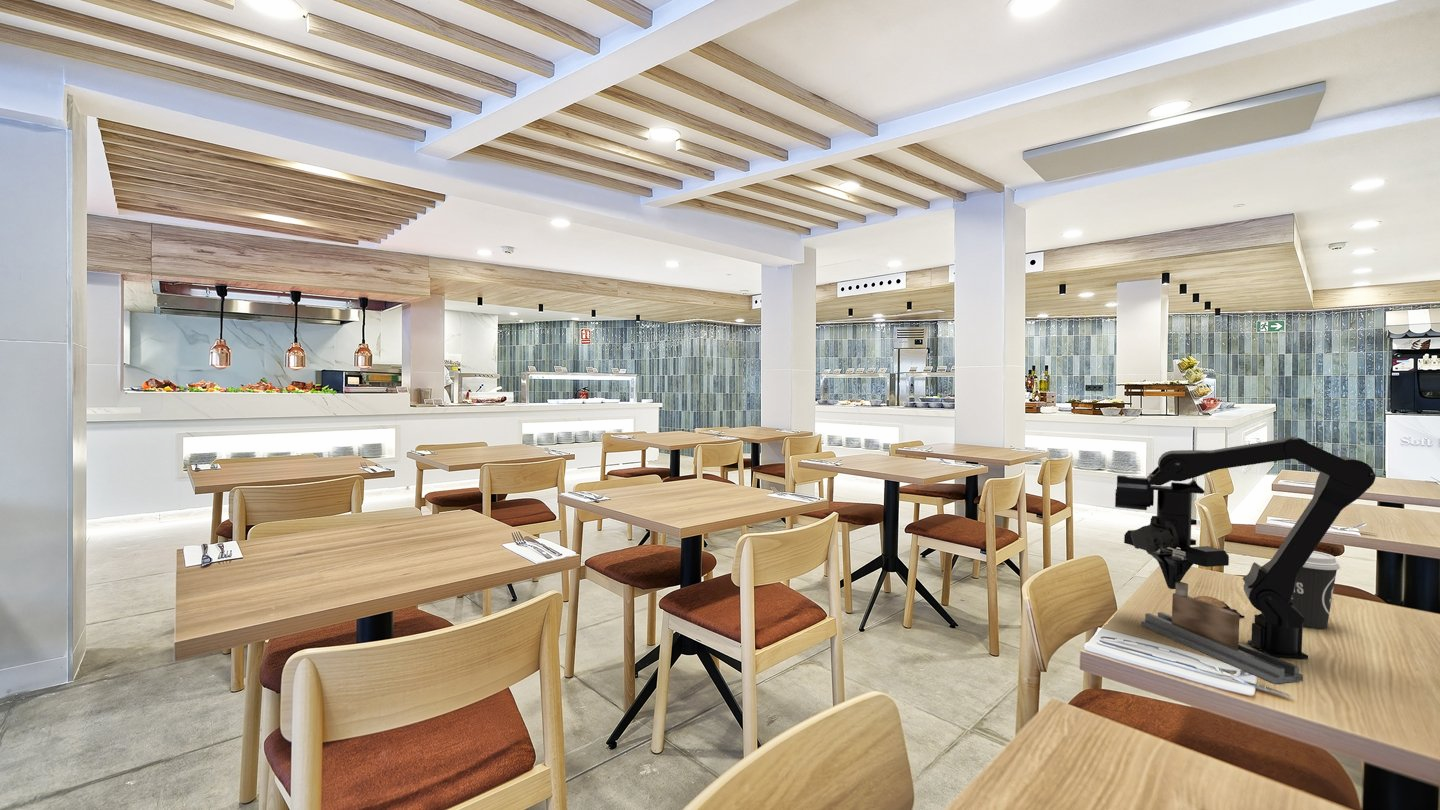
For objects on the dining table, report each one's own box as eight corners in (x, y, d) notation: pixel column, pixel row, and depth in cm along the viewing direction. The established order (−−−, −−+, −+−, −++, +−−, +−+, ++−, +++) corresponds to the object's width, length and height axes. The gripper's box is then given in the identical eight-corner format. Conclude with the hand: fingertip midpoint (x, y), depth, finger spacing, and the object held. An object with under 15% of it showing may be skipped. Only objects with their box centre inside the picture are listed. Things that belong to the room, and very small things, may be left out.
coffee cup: (1294, 612, 139) (1296, 546, 139) (1348, 628, 130) (1351, 557, 130) (1265, 617, 136) (1268, 549, 136) (1319, 634, 127) (1322, 561, 127)
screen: (1170, 627, 127) (1172, 581, 126) (1178, 626, 127) (1180, 581, 127) (1230, 652, 115) (1232, 602, 115) (1239, 651, 115) (1241, 601, 115)
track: (1141, 625, 131) (1141, 613, 131) (1165, 623, 132) (1165, 611, 132) (1275, 683, 106) (1275, 669, 106) (1302, 680, 107) (1303, 666, 107)
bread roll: (1194, 619, 137) (1194, 602, 137) (1174, 605, 145) (1174, 590, 145) (1249, 623, 135) (1250, 606, 135) (1226, 609, 143) (1227, 593, 143)
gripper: (1103, 505, 135) (1101, 577, 135) (1183, 524, 116) (1181, 607, 117) (1146, 503, 137) (1144, 574, 137) (1232, 522, 119) (1229, 603, 119)
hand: (1171, 588), depth 128 cm, fingers closed
